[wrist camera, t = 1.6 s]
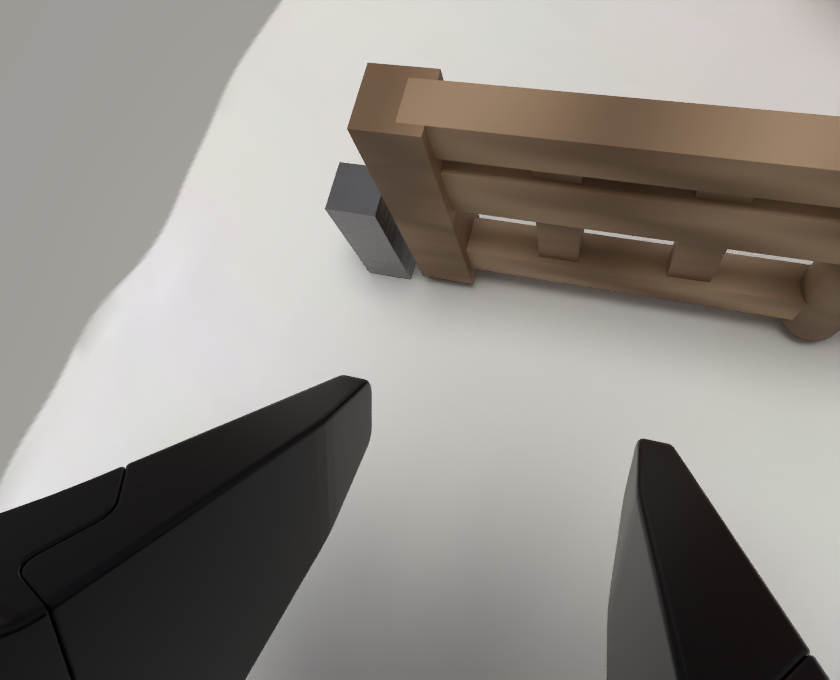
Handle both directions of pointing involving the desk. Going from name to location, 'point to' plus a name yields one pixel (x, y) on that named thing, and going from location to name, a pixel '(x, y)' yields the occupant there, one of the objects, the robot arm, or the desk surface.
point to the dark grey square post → (368, 222)
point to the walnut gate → (610, 191)
